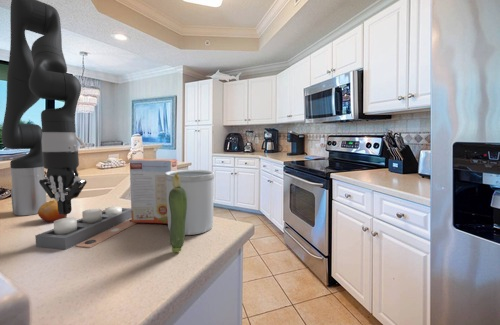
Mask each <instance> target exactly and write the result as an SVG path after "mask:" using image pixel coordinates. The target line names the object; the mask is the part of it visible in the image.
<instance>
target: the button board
mask: <svg viewBox="0 0 500 325" xmlns="http://www.w3.org/2000/svg"><path fill="white" fill-rule="evenodd" d="M131 218H132V216H131V207H128V208H127V207H122V212H121V213H118V214H116V215H112V214H105V209H104V210H103V209H102V220H101V221H99V222H96V223H89V224H88V223H83V217H82V218H79V219H77V231H75V232H73V233H70V234H65V235H55V234H54V228H51V229H49V230H46V231H44V232H41V233H38V234H36V235H34V236H35V248H47V249H56V250H68V249H70V248H72V247H75V245H77V244H79V243H81V242H83V241H85V240H88V239H90V238H92V237H94V236H96V235H98V234H100V233H102V232H104V231H106V230H108V229H110V228H112V227H115V226H117V225H119V224H121V223H123V222H125V221H127V220H129V219H131Z"/></svg>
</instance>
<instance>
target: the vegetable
mask: <svg viewBox="0 0 500 325" xmlns="http://www.w3.org/2000/svg"><path fill="white" fill-rule="evenodd" d="M178 175H179V174H178V172H177V173H175V176H174V177H173V180H172V185H173V187H174V188H173V189H172V190H171V191H170V193H169V206H170V212H171V229H170V231H169V238H170V239H169V240H170V242H169V243H170V246H171V251H172V253H173V254H174V253H179V252H182V248H183V246H184V243H185V236H186V235H185V223H186V213H187V194H186V191H185V190H184V189H183V188H182V187H180V186H181V182H180V178H179V176H178Z"/></svg>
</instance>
